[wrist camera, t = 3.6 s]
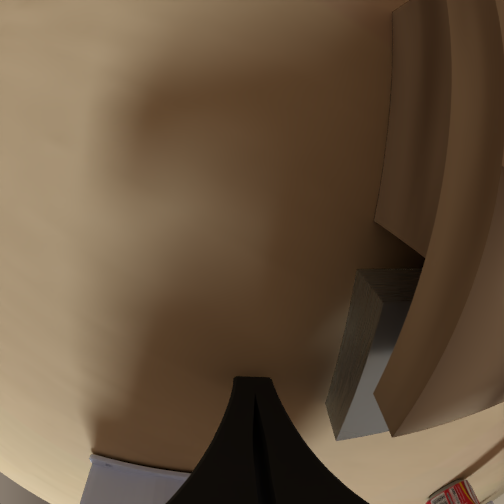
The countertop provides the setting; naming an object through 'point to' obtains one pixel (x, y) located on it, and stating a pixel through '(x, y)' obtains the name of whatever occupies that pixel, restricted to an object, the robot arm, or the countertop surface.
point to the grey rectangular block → (368, 349)
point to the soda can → (454, 494)
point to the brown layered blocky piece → (446, 210)
